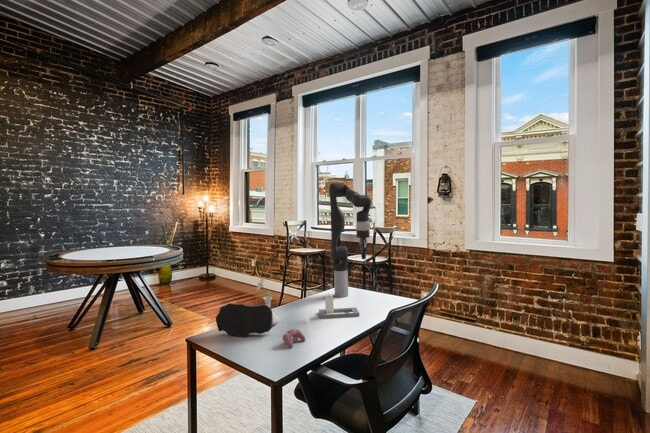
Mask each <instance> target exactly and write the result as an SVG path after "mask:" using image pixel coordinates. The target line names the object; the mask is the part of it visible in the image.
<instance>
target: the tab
mask: <svg viewBox="0 0 650 433" xmlns="http://www.w3.org/2000/svg"><path fill="white" fill-rule="evenodd" d="M324 299H325V300H324V303H325V306H324V307H325V308H324V309H326V313H334V310H333V309H334V295H333V293H324Z"/></svg>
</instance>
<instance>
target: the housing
mask: <svg viewBox="0 0 650 433" xmlns="http://www.w3.org/2000/svg"><path fill="white" fill-rule="evenodd" d="M333 310H334V313H326V309H325V308H324V309H323V308H322V309H318V313H319V314H318V315H319V319H320V320H321V319H337V318H339V319H340V318H354V317H357V318H358V317H360V312H359V310H358V308H357V307H343V308H342V307H341V308H340V307H339V308H333Z"/></svg>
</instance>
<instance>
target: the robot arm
mask: <svg viewBox="0 0 650 433" xmlns="http://www.w3.org/2000/svg"><path fill="white" fill-rule="evenodd" d="M328 194H329V202H330V203H329V204H330V232H331V236H330V237H331V238H330V239H331V242H330V244H331V245H330V256H331V259H332V261H340V262H339V263H337V264H335V265H334V266H333V283H334V285H333V286H334V288H333V289H334V296H335V297H337V298H345V297H348V296H349V277H348V276H349V275H348V271H349V270H348V266H349V264H348V258H349V256H348V254H349V252H348V251H349V250H348V247H347V246H345V245H337V244H338V241H339V238H340V236H341V235H342V233H343V231H344V229H345V226H346V223H345V215H344V213H343V211H342V210H341V208H340V207H339V205H338V200H337V198H342V197H345V199H346V200H347V201H348V202H350V203H352V206H353V207H355V208H362V209H361V210H359V211H357V212H356V217H355V218H356V227H355V229H356V230H355V231H356V232H355V233H356V238H358V239H359V242H358V243H359V249H360V250H359V251H360V253H361V254H360V255H361V259H362V260H366V259H367V257H366V256H367V255H366V253H367V251H368V245H369V244H368V241H367V238H370V222H369V217H370V216H369V214H370V210H371V205H372V198H371V196H370V195H368V194H360V193H359V192H358V191H355V190H353V189H351V188H350V187H349V186H348V185H347V184H345V183H344V182H335V183H334V182H332V183H330V184H329V187H328Z"/></svg>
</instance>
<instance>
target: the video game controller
mask: <svg viewBox="0 0 650 433" xmlns="http://www.w3.org/2000/svg"><path fill="white" fill-rule="evenodd" d="M282 340H283V342H284V343H285V344H286V346H287V347H288V348H290V349H292V348H293V347H294V346H293V344H294V343H297V342H298V341H299V340H301V341H302V342H306V338H305V335H304V334H303V333H302V332H301V330H300V329H298V328H294V329H289V330H287V331H286V332H285V333H284V334H283V335H282Z"/></svg>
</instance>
